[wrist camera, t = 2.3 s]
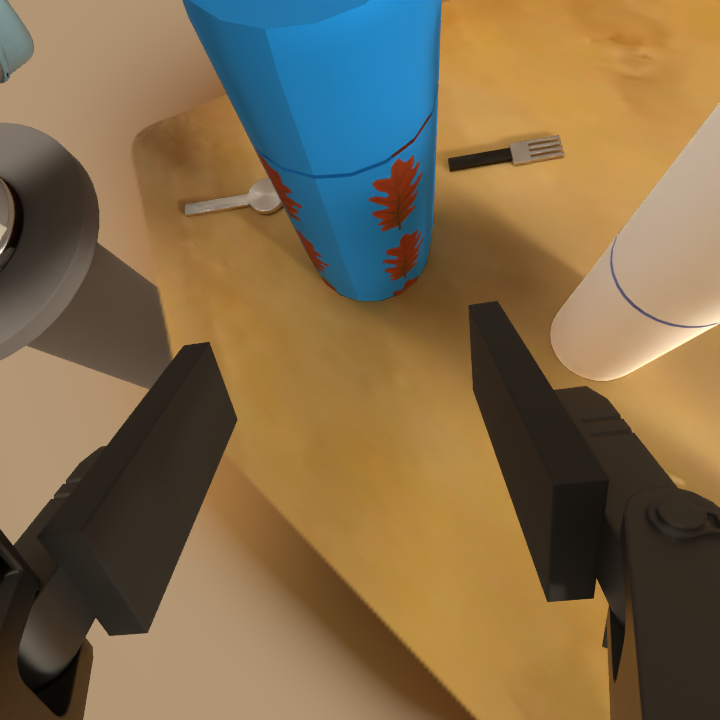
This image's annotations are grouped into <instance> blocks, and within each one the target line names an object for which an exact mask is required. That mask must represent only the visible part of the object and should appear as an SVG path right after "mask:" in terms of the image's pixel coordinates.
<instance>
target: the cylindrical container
mask: <svg viewBox="0 0 720 720" xmlns="http://www.w3.org/2000/svg"><path fill="white" fill-rule="evenodd" d="M718 324H720V102H719V104H718V105H717V106H716V108H715V109H714V110H713V111H712V113H711V114H710V115H709V117H708V118H707V119H706V121H705V122H704V123H703V124H702V126H701V127H700V128H699V130H698V131H697V132H696V134H695V135H694V136H693V137H692V139H691V140H690V141H689V143H688V144H687V145H686V147H685V148H684V149H683V150H682V152H681V153H680V154H679V156H678V157H677V158H676V159H675V161H674V162H673V163H672V165H671V166H670V167H669V169H668V170H667V171H666V172H665V174H664V175H663V176H662V178H661V179H660V180H659V182H658V183H657V184H656V185H655V187H654V188H653V189H652V191H651V192H650V193H649V194H648V196H647V197H646V198H645V200H644V201H643V202H642V204H641V205H640V206H639V207H638V209H637V210H636V211H635V213H634V214H633V215H632V217H631V218H630V219H629V220H628V222H627V223H626V224H625V226H624V227H623V228H622V230H621V231H620V232H619V233H618V235H617V236H616V237H615V239H614V240H613V241H612V242H611V244H610V245H609V246H608V248H607V249H606V250H605V252H604V253H603V254H602V255H601V257H600V258H599V259H598V261H597V262H596V263H595V265H594V266H593V267H592V268H591V270H590V271H589V272H588V274H587V275H586V276H585V278H584V279H583V280H582V281H581V283H580V284H579V285H578V287H577V288H576V289H575V291H574V292H573V293H572V294H571V296H570V297H569V298H568V300H567V301H566V302H565V303H564V305H563V306H562V307H561V309H560V310H559V311H558V313H557V314H556V316H555V317H554V320H553V322H552V325H551V332H550V337H551V344H552V347H553V350H554V352H555V354H556V356H557V358H558V359H559V360H560V362H561V363H562V364H563V365H564V366H565V367H566V368H567V369H569V370H570V371H571V372H573V373H575V374H577V375H578V376H581V377H583V378H586V379H590V380H596V381H609V380H614V379H618V378H620V377H623V376H625V375H627V374H629V373H631V372H632V371H634V370H636V369H638V368H640V367H641V366H643V365H645V364H647V363H649V362H651V361H652V360H654V359H656V358H658V357H660V356H661V355H663V354H665V353H667V352H669V351H671V350H672V349H674V348H676V347H678V346H680V345H681V344H683V343H685V342H687V341H689V340H691V339H692V338H694V337H696V336H698V335H700V334H701V333H703V332H705V331H707V330H709V329H711V328H712V327H714V326H716V325H718Z"/></svg>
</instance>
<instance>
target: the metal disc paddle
mask: <svg viewBox="0 0 720 720" xmlns="http://www.w3.org/2000/svg"><path fill="white" fill-rule="evenodd" d="M282 205H283V204H282V202H281V200H280V198H279V197H278V195H277V193H276V191H275V189H274V187H273V185H272V183H271V181H270V179H269V178H265V179H262V180H259V181H257V182H256V183H255V184H254V185H253V186H252V187H251V188H250V190H249V193H248V194H243V195H237V196H231V197H225V198H220V199H214V200H208V201H202V202H197V203H191V204H185V215H186V217H190V216H196V215H202V214H208V213H214V212H220V211H225V210H231V209H237V208H243V207H249V206H251V207H252V209H253V210H254V211H256V212H257V213H260V214H271V213H274V212H276V211H277V210H279V209H280V208H281V207H282Z"/></svg>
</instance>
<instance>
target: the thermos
mask: <svg viewBox="0 0 720 720" xmlns="http://www.w3.org/2000/svg"><path fill="white" fill-rule="evenodd" d="M183 3H184V6H185V9H186V11H187V14H188V17H189V19H190V21H191V23H192V25H193V27H194V29H195V31H196V33H197V35H198V37H199V39H200V41H201V43H202V45H203V47H204V49H205V51H206V53H207V55H208V57H209V59H210V61H211V63H212V65H213V67H214V69H215V71H216V73H217V75H218V77H219V79H220V81H221V83H222V85H223V87H224V89H225V90H226V93H227V95H228V97H229V99H230V101H231V103H232V105H233V107H234V109H235V111H236V113H237V115H238V117H239V119H240V121H241V123H242V125H243V127H244V129H245V131H246V133H247V135H248V137H249V139H250V141H251V143H252V145H253V147H254V149H255V151H256V153H257V155H258V157H259V159H260V161H261V163H262V165H263V167H264V169H265V171H266V173H267V175H268V177H269V179H270V181H271V183H272V185H273V187H274V189H275V191H276V193H277V195H278V197H279V198H280V200H281V202H282V204H283V206H284V208H285V210H286V212H287V214H288V216H289V218H290V220H291V222H292V224H293V226H294V228H295V230H296V232H297V234H298V236H299V238H300V240H301V242H302V244H303V246H304V248H305V250H306V252H307V253H308V255H309V257H310V259H311V260H312V262H313V264H314V266H315V267H316V269H317V270H318V272H319V273H320V275H321V277H322V278H323V280H324V281H325V283H326V284H327V285H329V286H330V287H331V288H332V289H334V290H335V291H336V292H337V293H339V294H340V295H342V296H345V297H348V298H351V299H354V300H357V301H381V300H384V299H386V298H389V297H392V296H395V295H398V294H400V293H401V292H403V291H404V290H405V289H406V288H408V287H409V286H410V285H411V284H413V283H414V282H415V281H416V280H417V279H418V277H419V275H420V274H421V272H422V271H423V269H424V267H425V266H426V264H427V260H428V254H429V249H430V243H431V235H432V228H433V220H434V193H435V165H436V137H437V110H438V80H439V55H440V27H441V0H183Z"/></svg>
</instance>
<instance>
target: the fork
mask: <svg viewBox="0 0 720 720" xmlns="http://www.w3.org/2000/svg"><path fill="white" fill-rule="evenodd" d="M559 138H560V137H559V135H557V136H551V137H545V138H539V139H534V140H528V141H527V140H526V141H520V142H514V143H509V148H506V149H500V150H494V151H489V152H483V153H477V154H471V155H466V156H460V157H454V158H449V159H448V164H449V169H450V171H456V170H462V169H468V168H474V167H480V166H485V165H491V164H497V163H503V162H509V161H512V163H513V166H517V165H523V164H528V163H532V162H538V161H544V160H549V159H555V158H561V157H563V156H564V152H561V151H562V149H563V148H562V146H560V145H561V141H559ZM554 141H555V142H554ZM548 142H549V143H548ZM542 143H544V144H542ZM536 144H538V145H536ZM531 145H532V146H531ZM558 146H560V147H558ZM552 147H554V148H552ZM546 148H548V149H546ZM540 149H542V150H540ZM535 150H536V151H535ZM530 151H531V152H530ZM556 152H559V153H556ZM551 153H553V154H551ZM545 154H547V155H545ZM539 155H541V156H539ZM533 156H535V157H533Z"/></svg>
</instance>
